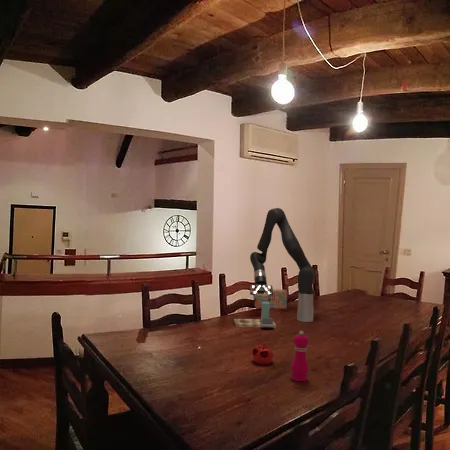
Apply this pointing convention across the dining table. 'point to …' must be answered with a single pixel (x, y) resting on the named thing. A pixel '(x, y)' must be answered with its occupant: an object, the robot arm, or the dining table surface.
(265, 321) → the lid
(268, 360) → the pomegranate
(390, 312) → the dining table surface
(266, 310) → the peg
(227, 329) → the dining table surface
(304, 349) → the pepper mill
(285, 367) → the dining table surface
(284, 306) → the stack of blocks
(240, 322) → the puzzle board
